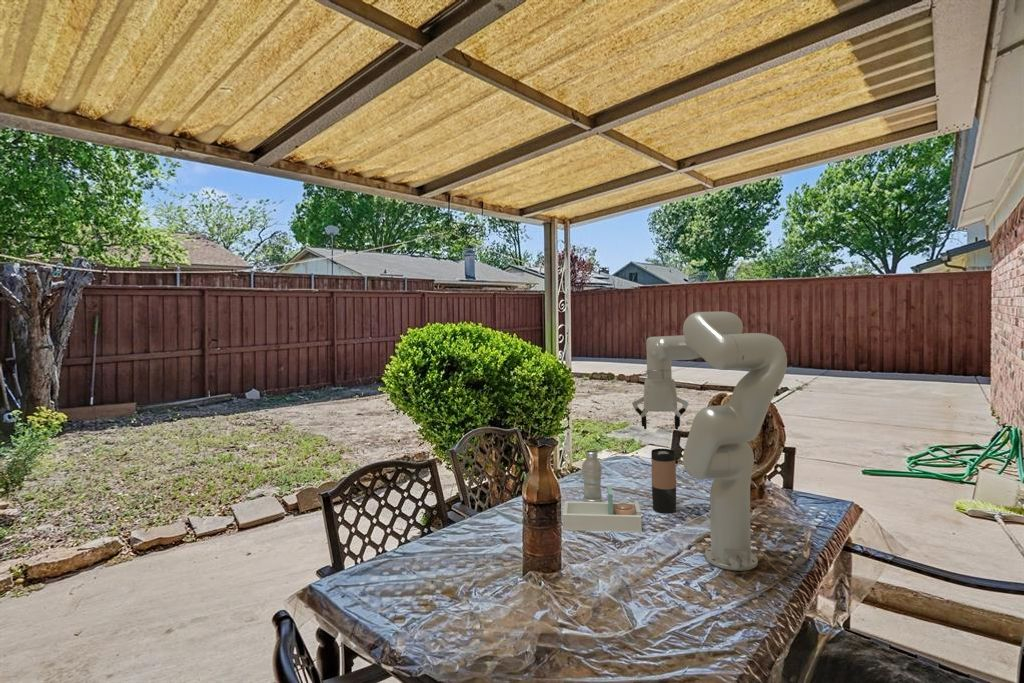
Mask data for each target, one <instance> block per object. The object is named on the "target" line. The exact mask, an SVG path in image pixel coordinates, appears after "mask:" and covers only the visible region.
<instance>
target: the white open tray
mask: <svg viewBox="0 0 1024 683" xmlns="http://www.w3.org/2000/svg"><path fill="white" fill-rule="evenodd" d="M619 503H620V502H614V501H613V515H608V501H607V502H606V501H603V502H583V501H564V504H563V509H562V530H563V531H585V532H586V531H587V532H589V531H592V532H618V533H619V532H623V533H642V532H643V531H642V530H643V528H642V526H643V524H642V511H641V506H640V502H639V501H638V500H634V501H633V502H626V503H627V504H630V505H632V506H633V507H634V515H614V506H615V505H616V504H619Z"/></svg>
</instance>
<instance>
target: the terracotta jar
mask: <svg viewBox="0 0 1024 683" xmlns="http://www.w3.org/2000/svg"><path fill="white" fill-rule="evenodd" d="M618 503H619V504H616V505H615V506H614V515H634V507H633V506H632V505H630V504H627V503H628V502H618Z"/></svg>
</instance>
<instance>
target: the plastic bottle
mask: <svg viewBox="0 0 1024 683" xmlns="http://www.w3.org/2000/svg"><path fill="white" fill-rule="evenodd" d="M598 457H599V456H598V451H597V450H595V449H589V450H586V451H585V460H584V461H583V463H582V465H581V472H582V476H583V487H584V488H583V499H582V502H604V500H603V495H602V485H601V484H602V483H601V479H602V471H603V467H602V464H601V461H599V459H598Z"/></svg>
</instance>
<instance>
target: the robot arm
mask: <svg viewBox="0 0 1024 683" xmlns="http://www.w3.org/2000/svg"><path fill="white" fill-rule="evenodd" d="M682 327H683V328H682V333H683V334H682V335H663V336H660V335H659V336H649V337H648V338H646V342H645V343H646V344H645V345H646V346H645V348H646V370H645V371H642V372H641V373H642V376H643V377H646V378H645V380H644V385H643V397H640V398H638V399H636V400H634V401H633V402H632V403H631V404H632V407H633V408H634V410H635V412H636V413H637V414H638V415H639V416H640V417H641V427H643V428H644V430H647V416H646V415H647V413H648V412H662V413H663V412H666V413H667V412H673V413H674V429H675V430H677V431H678V430H679V427H681V416H682V415H683V414H684V413H685V412H686V411H687V408H688V407H689V402H688V401H686V400H685V399H682V398H681V397H678V395H677V386H676V382H675V381H676V380H675V379H674V378H673V376H672V362H673V361H686V360H687V361H689V360H696V359H699V358H702V359H703V361H705V362H706V363H707V364H708V365H709V366H711V367H712V368H713V369H716V370H720V371H732V370H734V371H735V370H736V371H737V370H749V371H748V372H747V373H746V374H745V375H744V376H743V377H742V378H741V379H740V380H739V381H738V382H737V384H736V385H735V387H734V389H733V391H732V395H731V397H730V399H729V401H728V402H727V403H725V404H722V405H720V404H719V405H709V406H706V407H703V408H701V409H700V410H699V411H698V412H696V414H695V416H694V418H693V419H692V423H691V427H690V429H689V433H688V436H687V440H686V442H685V445H684V449H683V454H682V462H683V467H684V469H685V472H686V473H687V474H688V475H689V476H690V477H692V478H693V479H696V480H710V479H713V481H712V483H711V486H710V492H709V505H710V506H709V508H710V510H709V511H710V512H709V513H710V518H709V519H710V546H709V547H708V548H707V549H705V551H704V558H705V560H706V561H707V562H708V563H709V564H711V565H712V566H715V567H718V568H720V569H723V570H728V571H739V572H744V571H749V570H753V569H754V568H757V566H758V561H759V560H758V557H757V555H756V554H754V553H753V552H752V551H751V550H752V549H751V548H752V544H751V541H752V539H751V537H752V536H751V535H752V534H751V481H752V474H753V469H754V465H755V464H754V463H755V454H754V450H753V448H752V447H751V445H750V444H749V443H748V442H753V441H754V440H755V439H756V438H757V436H758V435H759V433H760V431H761V428H762V426H763V423H764V421H765V418H766V415H767V414H768V410H769V409H770V406H771V402H772V401H773V398H774V396H775V394H776V393H777V390H778V389H779V387H780V385H781V383H782V382H783V379H784V378H785V375H786V372H787V367H788V358H787V352H786V349H785V347H784V344H783V343H782V341H780V339H779V338H778V337H776V336H774V335H772V334H768V333H762V332H756V333H755V332H748V333H746V332H745V333H743V329H744V325H743V322H742V319H741V318H740V317H739V316H738V315H736V314H735V313H733V312H730V311H725V310H724V311H723V310H722V311H696V312H693V313H691V314H690V315H688V316H687V317H686V319H685V320H684V323H683V326H682ZM642 403H643V409H642V410H641V408H639V405H640V404H642ZM678 404H681V405H682V406H681V408H680V409H679V410H678Z"/></svg>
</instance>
